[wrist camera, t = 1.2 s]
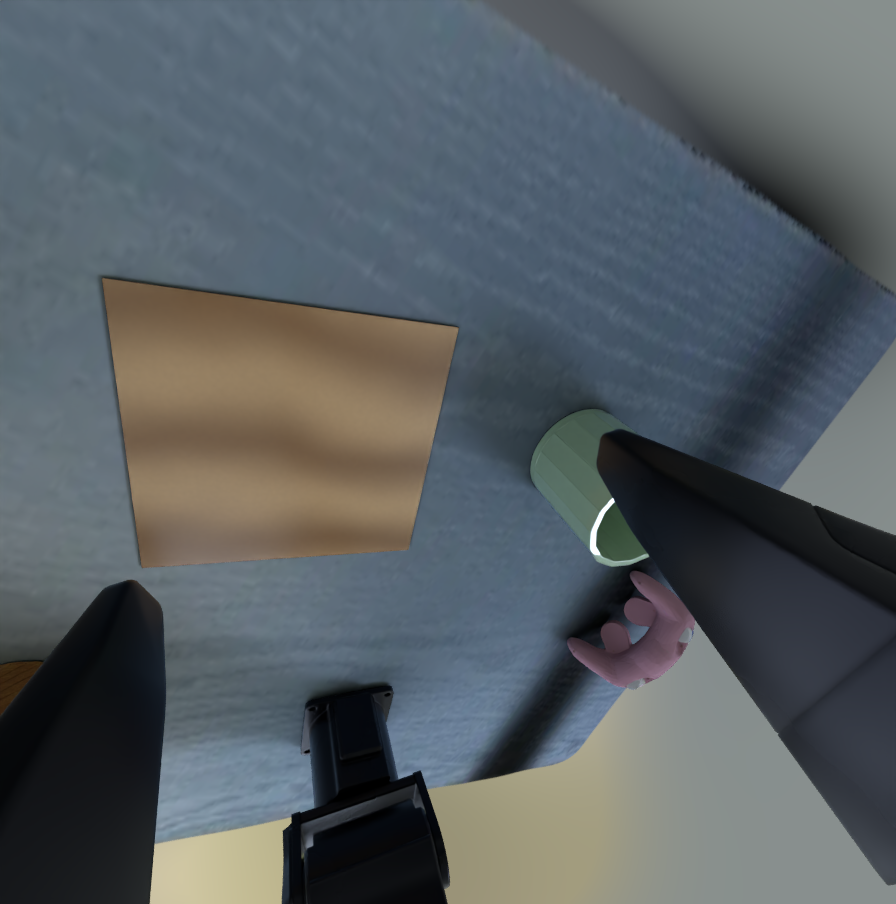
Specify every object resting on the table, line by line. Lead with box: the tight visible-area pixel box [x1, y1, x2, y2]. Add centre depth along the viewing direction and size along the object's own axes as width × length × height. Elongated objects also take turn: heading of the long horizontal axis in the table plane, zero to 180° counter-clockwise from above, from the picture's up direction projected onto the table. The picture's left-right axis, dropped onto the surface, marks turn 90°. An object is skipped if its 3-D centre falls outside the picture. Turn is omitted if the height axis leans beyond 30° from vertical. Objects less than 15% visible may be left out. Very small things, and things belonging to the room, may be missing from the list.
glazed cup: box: [530, 409, 649, 567], centre depth 26 cm, size 7×7×6 cm
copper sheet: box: [102, 278, 459, 568], centre depth 22 cm, size 14×14×1 cm
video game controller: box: [567, 571, 695, 690], centre depth 38 cm, size 10×5×7 cm, turn 144°
